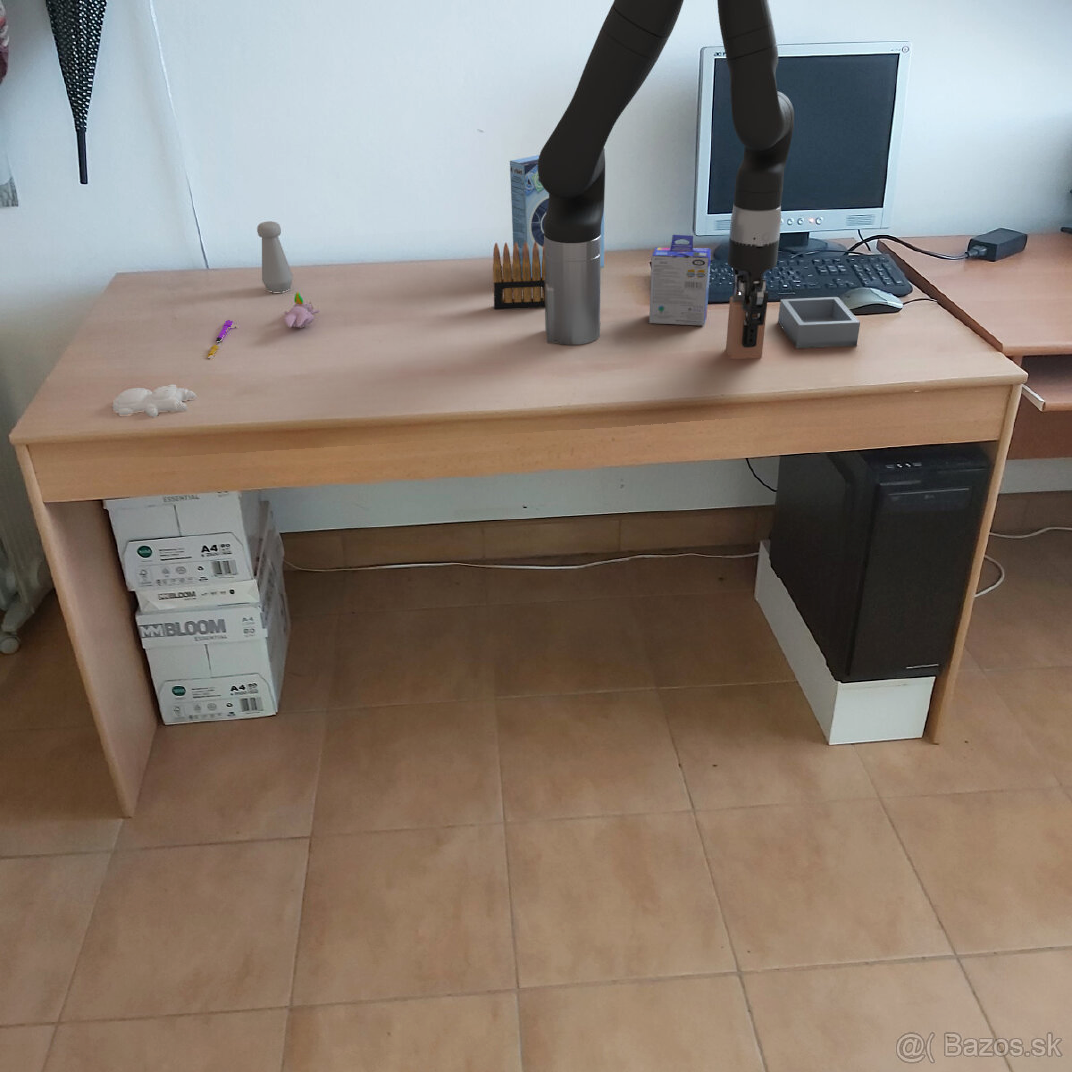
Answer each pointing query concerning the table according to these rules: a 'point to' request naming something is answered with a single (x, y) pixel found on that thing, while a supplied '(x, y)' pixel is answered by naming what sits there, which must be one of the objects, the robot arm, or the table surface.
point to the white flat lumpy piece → (152, 400)
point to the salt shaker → (273, 259)
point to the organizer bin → (818, 322)
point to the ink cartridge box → (679, 283)
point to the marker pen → (220, 336)
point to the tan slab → (736, 331)
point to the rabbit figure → (300, 313)
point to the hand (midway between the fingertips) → (744, 339)
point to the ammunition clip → (518, 279)
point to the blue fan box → (531, 207)
